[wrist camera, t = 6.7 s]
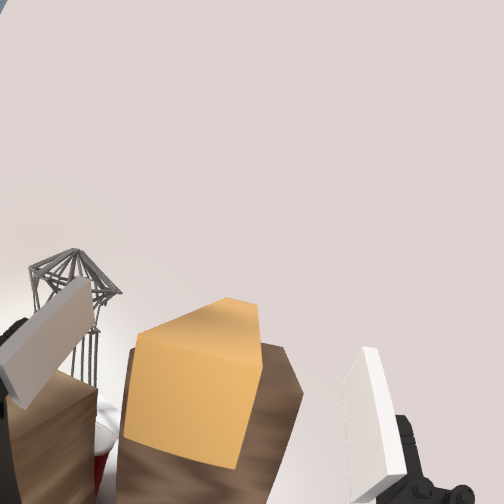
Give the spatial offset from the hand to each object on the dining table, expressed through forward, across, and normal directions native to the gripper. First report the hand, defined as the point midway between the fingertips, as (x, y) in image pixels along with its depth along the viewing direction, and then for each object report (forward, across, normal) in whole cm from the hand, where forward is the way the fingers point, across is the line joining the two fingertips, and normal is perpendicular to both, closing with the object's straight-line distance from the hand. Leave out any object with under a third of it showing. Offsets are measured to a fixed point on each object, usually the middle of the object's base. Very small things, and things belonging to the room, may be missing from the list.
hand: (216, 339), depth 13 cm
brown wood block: (-5, 0, -36) cm, 36 cm away
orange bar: (+7, 0, -8) cm, 11 cm away
